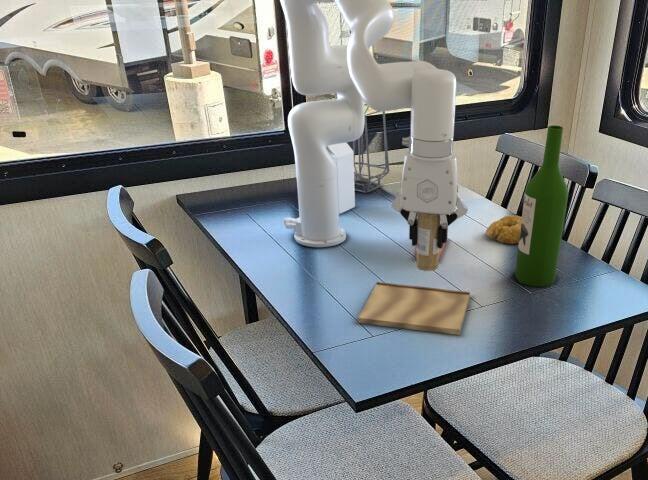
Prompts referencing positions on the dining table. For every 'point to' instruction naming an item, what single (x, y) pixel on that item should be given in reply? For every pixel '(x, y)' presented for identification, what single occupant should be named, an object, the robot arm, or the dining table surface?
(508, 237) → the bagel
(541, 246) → the wine bottle
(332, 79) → the robot arm
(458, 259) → the dining table surface
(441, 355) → the dining table surface
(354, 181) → the geometric lantern
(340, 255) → the dining table surface
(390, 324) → the board
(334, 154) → the milk carton
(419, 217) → the sprinkles bottle
